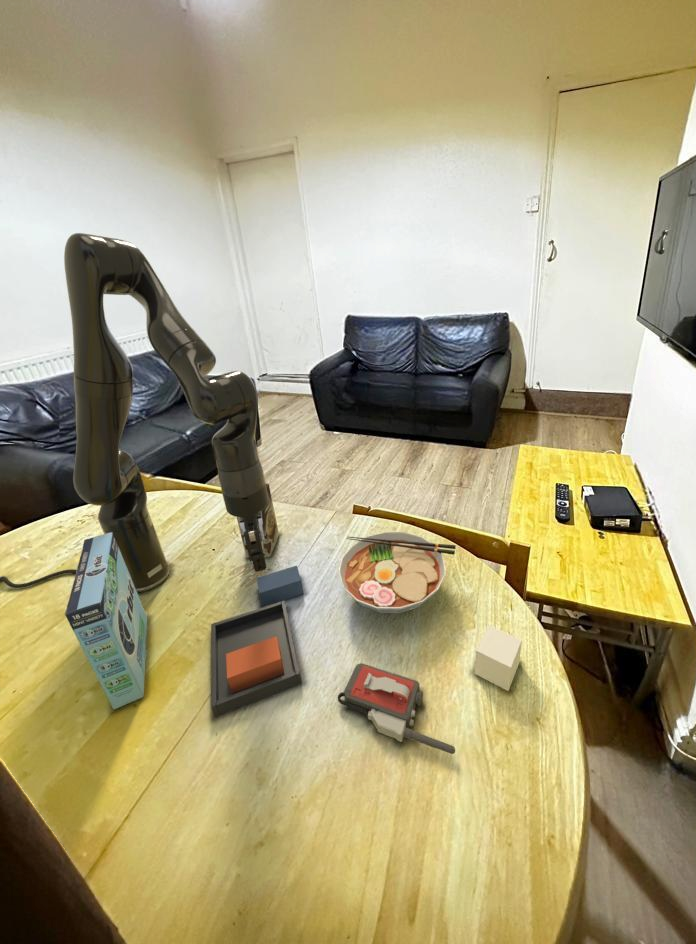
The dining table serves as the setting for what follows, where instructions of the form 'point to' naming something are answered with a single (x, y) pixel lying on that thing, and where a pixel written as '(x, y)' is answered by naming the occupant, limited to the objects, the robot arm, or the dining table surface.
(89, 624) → the gum box
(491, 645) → the beige cube
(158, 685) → the dining table surface
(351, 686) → the walkie-talkie
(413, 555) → the ramen bowl
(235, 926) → the dining table surface
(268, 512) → the coffee box
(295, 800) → the dining table surface
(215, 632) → the holder
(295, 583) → the blue rectangular block
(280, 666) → the pad
